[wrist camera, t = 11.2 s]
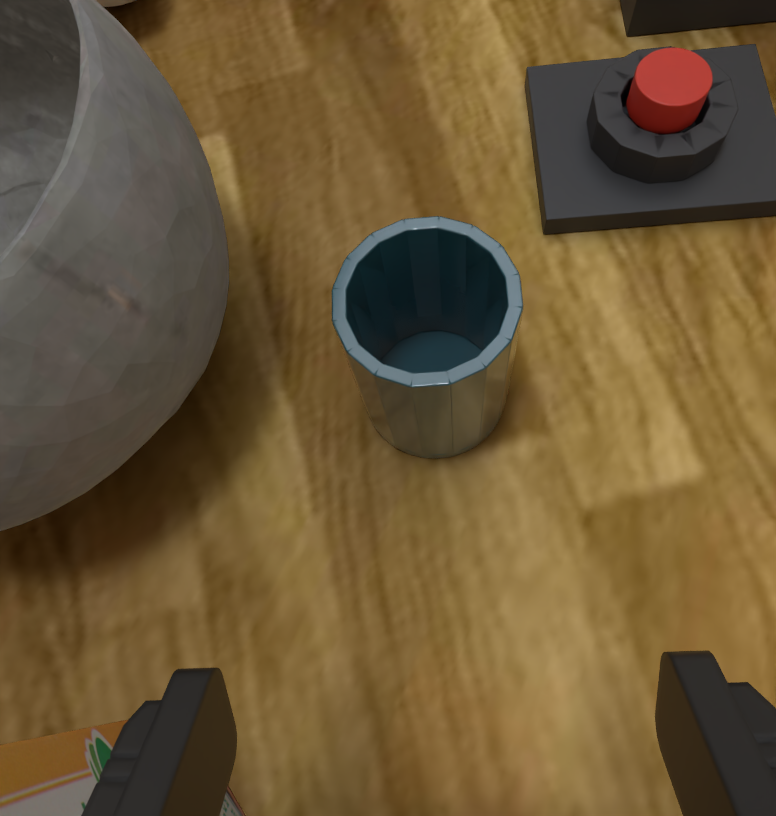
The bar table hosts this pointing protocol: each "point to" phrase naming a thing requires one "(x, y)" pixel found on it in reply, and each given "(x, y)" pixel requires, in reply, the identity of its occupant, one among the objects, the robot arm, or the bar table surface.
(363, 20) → the bar table surface
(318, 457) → the bar table surface
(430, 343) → the cup
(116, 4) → the headphones
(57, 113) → the bowl
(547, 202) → the pad
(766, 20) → the scale
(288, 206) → the bar table surface
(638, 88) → the button
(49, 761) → the milk carton
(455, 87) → the bar table surface
